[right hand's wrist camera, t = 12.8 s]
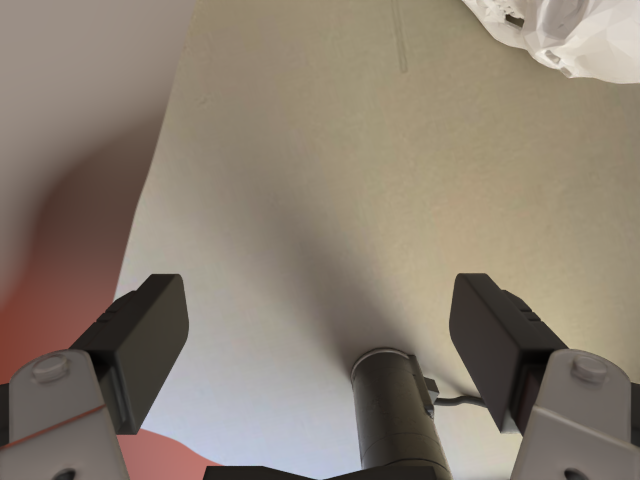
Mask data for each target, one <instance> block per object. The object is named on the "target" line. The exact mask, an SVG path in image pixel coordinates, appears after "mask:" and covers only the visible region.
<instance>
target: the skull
mask: <svg viewBox="0 0 640 480" xmlns="http://www.w3.org/2000/svg"><path fill="white" fill-rule="evenodd" d="M462 1H463V2H464V3H465V4H466V5H467V6H468V7H469V9H470V10H471V11H472V12H473V13H474V14H475V15H476V17H477V18H478V19H479V21H480V22H481V23H482V24H483V26H484V27H485V28H486V30H487V31H488V32H489V33H490V34H491V35H492V36H493V38H494V39H496V40H498V41H500V42H502V43H504V44H506V45H508V46H512V47H517V48H523V49H525V50H527V51H528V52H529V53H530V55H531V56H532V57H533V58H534V59H535V60H537V61H538V62H539V63H541V64H543V65H545V66H547V67H549V68H554V69H558V70H560V71H561V72H562V73H563V74H564V75H565V76H566V77H568V78H573V77H592V78H597V79H600V80H603V81H606V82H612V83H618V84H628V83H640V0H462ZM506 14H510V15H511V16H513V17H515V18H522V19H523V20H525V21H524V24H523V27H520V26H518V25H515V24H513V23H511V22H509V21H507V20H506V18H505V16H506Z"/></svg>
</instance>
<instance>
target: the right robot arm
mask: <svg viewBox="0 0 640 480" xmlns="http://www.w3.org/2000/svg"><path fill="white" fill-rule="evenodd" d="M449 330H450V336H451V339H452V342H453V344H454V346H455V348H456V350H457V351H458V353H459V355H460V357H461V359H462V361H463V363H464V365H465V367H466V368H467V370H468V372H469V374H470V376H471V378H472V380H473V382H474V384H475V386H476V387H477V389H478V391H479V393H480V395H481V397H482V399H483V400H482V399H479V398H475V397H470V396H460V397H457V398H452V399H446V398H437V396H438V394H439V391H438V388H437V386H436V383H435V381H434V380H433V379H429V378H426V377H423V375H422V372H421V369H420V367H419V364H418V361H417V358H416V356H408V355H406V354H405V353H403V352H401V351H399V350H395V349H390V348H382V349H376V350H373V351H370V352H368V353H366V354H364V355H363V356H361V357H360V358H359V359H358V360H357V361H356V363H355V364H354V366H353V368H352V372H351V382H352V388H353V394H354V403H355V412H356V421H357V430H358V439H359V448H360V457H361V466H362V470H360V471H356V472H352V473H348V474H344V475H340V476H336V477H332V478H328V479H324V480H453V477H452V474H451V471H450V468H449V465H448V462H447V459H446V456H445V453H444V450H443V448H442V445H441V442H440V439H439V436H438V433H437V430H436V427H435V424H434V406H433V405H440V406H456V405H459V404H462V403H469V404H475V405H479V406H482V407H485V408H488V410H489V412H490V414H491V416H492V418H493V420H494V422H495V423H496V425H497V427H498V429H499V431H500V433H521V435H522V436H523V439H522V443H521V446H520V449H519V452H518V455H517V458H516V462H515V465H514V468H513V471H512V474H511V477H510V480H640V384H636V383H631V382H630V380H629V377H628V376H627V375H626V374H625V372H624V371H622V370H621V369H620V368H619V367H618V366H616V365H615V364H613V363H612V362H610V361H608V360H606V359H605V358H602V357H600V356H598V355H595V354H592V353H589V352H586V351H581V350H575V349H569V348H568V347H567V346H566V345H565V344H564V343H563V342H562V341H561V340H560V339H559V337H558V336H557V335H556V334H555V333H554V332H553V331H552V330H551V329H550V328H549V327H548V326H547V325H546V324H545V323H544V322H543V321H541V319H540V318H539V317H538V316H537V315H536V314H535V313H534V312H532V310H531V309H530V307H529V306H528V305H527V304H526V303H525V302H524V301H523V300H522V299H520V298H519V297H517V296H515V295H513V294H511V293H510V292H508V291H506V290H501V289H500V288H499V287H498V286H497V285H496V284H495V283H494V281H493V280H492V279H491V278H490V277H489V276H488V275H487V274H485V273H459V274H458V275H457V276H456V279H455V284H454V291H453V298H452V305H451V312H450V319H449ZM188 331H189V319H188V312H187V305H186V299H185V292H184V285H183V280H182V277H181V275H180V274H151V275H150V276H149V277H148V278H147V279H146V281H145V282H144V283H143V284H142V285H141V286H140V287H139V288H138V289H137V290H136V291H131V292H129V293H127V294H126V295H124V296H122V297H120V298H118V299H117V300H115V301H114V302H113V303H112V305H111V306H110V307H109V308H108V309H107V310H106V311H105V313H103V314H102V315H101V316H100V317H99V318H98V319H97V321H96V322H94V323H93V324H92V325H91V326H90V327H89V328H88V329H87V330H86V331H85V332H84V333H83V334H82V335H81V336H80V337H79V338H78V339H77V340H76V341H75V342H74V343H73V345H72V346H71V347H70V348H69V349H65V350H59V351H54V352H51V353H48V354H45V355H42V356H40V357H38V358H35V359H34V360H32V361H30V362H28V363H27V364H25V365H24V366H22V367H21V368H20V369H19V370H18V371H16V372H15V374H14V375H13V376H12V377H11V380H10V382H9V383H7V384H2V385H0V480H130V477H129V474H128V471H127V468H126V465H125V462H124V458H123V455H122V452H121V449H120V446H119V443H118V439H117V436H116V435H136V434H137V432H138V431H139V429H140V427H141V425H142V423H143V421H144V419H145V418H146V416H147V414H148V412H149V410H150V408H151V406H152V404H153V403H154V401H155V399H156V397H157V395H158V393H159V391H160V389H161V388H162V386H163V384H164V382H165V380H166V378H167V376H168V374H169V373H170V371H171V369H172V367H173V365H174V363H175V361H176V359H177V358H178V356H179V354H180V352H181V350H182V348H183V346H184V345H185V343H186V340H187V337H188ZM203 480H316V479H312V478H308V477H304V476H300V475H296V474H292V473H288V472H284V471H280V470H276V469H272V468H268V467H264V466H207V467H206V471H205V474H204V477H203Z"/></svg>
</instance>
